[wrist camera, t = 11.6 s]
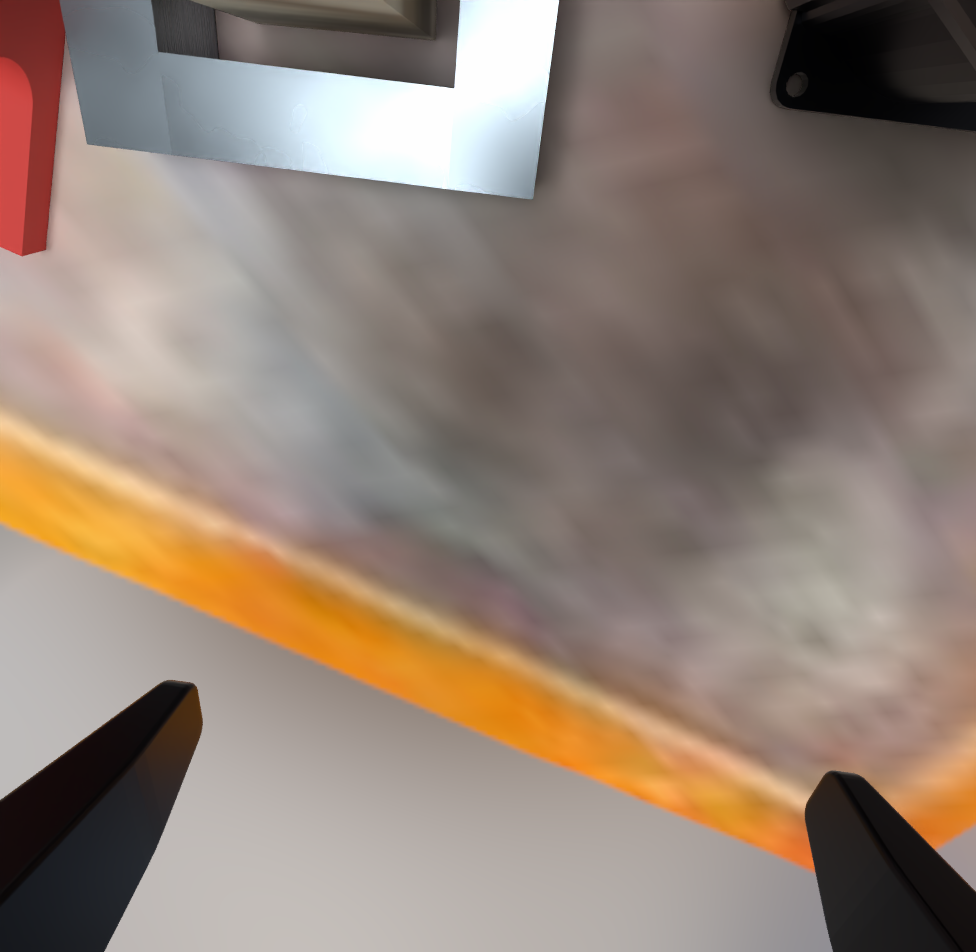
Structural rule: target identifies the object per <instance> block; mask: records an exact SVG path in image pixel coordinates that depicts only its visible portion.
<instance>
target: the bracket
mask: <svg viewBox="0 0 976 952" xmlns="http://www.w3.org/2000/svg"><path fill="white" fill-rule="evenodd" d="M65 33H66V32H65V27H64V22H63V17H62V12H61V7H60V1H59V0H0V247H2V248H4V249H6V250H9V251H11V252H13V253H15V254H18V255H20V256H25V255H28V254H32V253H36V252H39V251H43V250H46V240H47V229H48V218H49V207H50V196H51V186H52V175H53V164H54V153H55V142H56V131H57V120H58V109H59V98H60V88H61V77H62V66H63V55H64V44H65Z"/></svg>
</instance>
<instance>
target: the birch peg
mask: <svg viewBox="0 0 976 952" xmlns="http://www.w3.org/2000/svg"><path fill="white" fill-rule="evenodd" d="M190 1H193V2H196V3H199V4H202V5H205V6H208V7H211V8H214V9H217V10H220V11H223V12H226V13H229V14H232V15H235V16H238V17H241V18H244V19H247V20H249V21H252V22H255V23H259V24H269V25H279V26H290V27H300V28H311V29H321V30H331V31H342V32H352V33H362V34H373V35H383V36H394V37H404V38H414V39H425V40H435V36H436V7H437V0H190Z"/></svg>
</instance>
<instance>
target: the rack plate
mask: <svg viewBox="0 0 976 952" xmlns="http://www.w3.org/2000/svg"><path fill="white" fill-rule="evenodd" d="M59 1H60V7H61V12H62V17H63V22H64V27H65V32H66V38H67V43H68V48H69V53H70V58H71V63H72V68H73V74H74V79H75V84H76V89H77V94H78V99H79V105H80V110H81V115H82V120H83V125H84V130H85V136H86V141H87V144H89V145H97V146H105V147H113V148H121V149H129V150H137V151H145V152H153V153H161V154H169V155H178V156H186V157H194V158H202V159H210V160H218V161H226V162H234V163H242V164H250V165H258V166H266V167H274V168H282V169H290V170H299V171H307V172H315V173H323V174H331V175H339V176H347V177H355V178H363V179H371V180H379V181H387V182H395V183H403V184H411V185H419V186H428V187H436V188H444V189H452V190H460V191H468V192H476V193H484V194H492V195H500V196H508V197H516V198H524V199H532V200H533V195H534V187H535V179H536V172H537V164H538V156H539V149H540V141H541V134H542V126H543V118H544V111H545V103H546V96H547V88H548V80H549V73H550V65H551V58H552V50H553V42H554V35H555V27H556V20H557V12H558V4H559V0H460V14H459V29H458V44H457V59H456V73H455V88H446V87H438V86H430V85H422V84H414V83H406V82H397V81H389V80H381V79H373V78H365V77H357V76H349V75H341V74H333V73H324V72H316V71H308V70H300V69H292V68H284V67H276V66H268V65H260V64H251V63H243V62H235V61H227V60H219V58H218V47H217V36H216V26H215V15H214V8H211V7H208V6H205V5H202V4H199V3H196V2H193V1H190V0H59Z"/></svg>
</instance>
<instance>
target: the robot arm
mask: <svg viewBox="0 0 976 952" xmlns="http://www.w3.org/2000/svg"><path fill="white" fill-rule="evenodd" d="M784 1H785V3H786V6H787V8H788V9H789V10H792V12H791V15H790V19H789V22H788V26H787V29H786V33H785V36H784V40H783V43H782V47H781V50H780V54H779V57H778V61H777V64H776V68H775V71H774V75H773V78H772V82H771V89H770V93H771V97H772V101H773V102H774V103H775V104H776V105H777V106H778V107H781V108H784V109H790V110H798V111H806V112H815V113H823V114H831V115H839V116H847V117H855V118H863V119H871V120H880V121H888V122H896V123H904V124H912V125H920V126H928V127H936V128H945V129H953V130H961V131H969V132H976V0H784ZM794 73H796V74H798V75H800V77H801V79H802V87H801V89H800V91H799V93H797V94H796V95H795V96H794V97H792V96H790V95H788V93H787V91H786V84H787V82H788V80H789V78H790V77H791V76H792V75H793V74H794ZM202 725H203V719H202V713H201V707H200V701H199V696H198V690H197V687H196V686H195V685H194V684H193V683H190V682H183V681H175V680H167V681H164V682H162V683H160V684H158V685H157V686H155V687H154V688H153V689H152V690H150V691H149V692H147V693H146V694H145V695H143V696H142V697H141V698H139V699H138V700H136V701H135V702H134V703H132V704H131V705H130V706H128V707H127V708H126V709H124V710H123V711H121V712H120V713H119V714H117V715H116V716H115V717H114V718H112V719H110V720H109V721H108V722H106V723H105V724H104V725H102V726H101V727H100V728H98V729H97V730H95V731H94V732H93V733H91V734H90V735H89V736H87V737H86V738H85V739H83V740H82V741H80V742H79V743H78V744H76V745H75V746H74V747H72V748H71V749H69V750H68V751H67V752H65V753H64V754H63V755H61V756H60V757H58V758H57V759H56V760H54V761H53V762H52V763H50V764H49V765H48V766H46V767H45V768H44V769H43V770H41V771H39V772H38V773H37V774H36V775H34V776H33V777H31V778H30V779H29V780H27V781H26V782H24V783H23V784H22V785H20V786H19V787H18V788H16V789H15V790H13V791H12V792H11V793H9V794H8V795H7V796H5V797H4V798H3V799H1V800H0V952H104V951H105V949H106V947H107V945H108V943H109V941H110V939H111V937H112V935H113V933H114V931H115V930H116V928H117V926H118V924H119V922H120V920H121V918H122V916H123V914H124V912H125V910H126V908H127V906H128V904H129V902H130V900H131V898H132V896H133V894H134V892H135V890H136V888H137V886H138V884H139V882H140V880H141V878H142V876H143V874H144V872H145V870H146V868H147V866H148V864H149V862H150V860H151V858H152V856H153V854H154V852H155V850H156V848H157V845H158V843H159V840H160V838H161V835H162V833H163V831H164V828H165V826H166V823H167V821H168V818H169V816H170V813H171V810H172V808H173V805H174V803H175V800H176V798H177V795H178V792H179V790H180V787H181V785H182V782H183V780H184V777H185V775H186V772H187V769H188V767H189V764H190V762H191V759H192V756H193V754H194V751H195V749H196V746H197V744H198V741H199V738H200V735H201V732H202ZM805 822H806V827H807V832H808V837H809V842H810V847H811V852H812V857H813V862H814V867H815V872H816V877H817V882H818V887H819V891H820V896H821V901H822V906H823V911H824V916H825V920H826V925H827V930H828V934H829V938H830V942H831V946H832V949H833V952H976V891H975V890H974V889H973V888H972V887H971V886H970V885H968V883H967V882H966V881H965V880H964V879H963V878H962V877H961V876H960V875H959V874H958V873H957V872H956V871H955V870H954V869H953V868H952V867H951V866H950V865H949V864H948V863H947V862H946V861H945V860H944V859H943V858H942V857H941V856H940V855H939V854H938V853H937V852H936V851H935V850H934V849H933V848H932V847H931V846H930V845H929V844H928V843H927V842H926V841H925V840H924V838H923V837H922V836H921V835H920V834H919V833H918V832H917V831H916V830H915V829H914V828H913V827H912V826H911V825H910V824H909V823H908V822H907V821H906V820H905V819H904V818H903V817H902V816H901V815H900V814H899V813H898V812H897V811H896V810H895V809H894V808H893V807H892V806H891V805H890V804H889V803H888V802H887V801H886V800H885V799H884V798H883V797H882V796H881V795H880V794H879V793H878V792H877V791H876V790H875V789H874V788H873V787H872V786H871V785H870V784H869V783H868V782H867V781H866V780H865V779H864V778H863V777H861V776H860V775H858V774H854V773H848V772H841V771H829V772H827V773H826V774H825V775H824V776H823V778H822V779H821V781H820V782H819V784H818V786H817V787H816V789H815V790H814V792H813V793H812V795H811V797H810V798H809V800H808V802H807V804H806V808H805Z"/></svg>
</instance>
